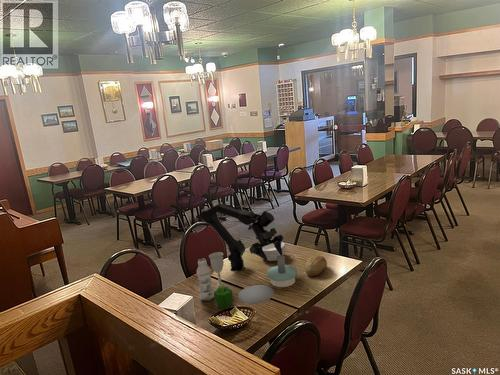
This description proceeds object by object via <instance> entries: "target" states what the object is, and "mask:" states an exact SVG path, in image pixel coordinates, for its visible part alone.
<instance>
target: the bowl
mask: <svg viewBox="0 0 500 375" xmlns="http://www.w3.org/2000/svg"><path fill="white" fill-rule="evenodd" d="M269 279H270V278H269ZM295 283H296V276H295V277H294V278H292V279H290V280H286V281H275V280H272V279H270V284H272V286H274V287H277V288H287V287H290V286H291V287H292V285H293V284H295Z"/></svg>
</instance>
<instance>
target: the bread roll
mask: <svg viewBox="0 0 500 375" xmlns="http://www.w3.org/2000/svg"><path fill="white" fill-rule="evenodd" d="M327 262H328V261H327V260H326V258H325V257H324V256H321V255H313V256H311V257H309V258H308V259H307V261H306V263H305V266H304V270H305V274H307V276H309V277H315V276H318V275H319V274H321V273H323V271H324V270H325V269H326V267H327V266H328V263H327Z"/></svg>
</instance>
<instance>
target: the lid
mask: <svg viewBox="0 0 500 375" xmlns="http://www.w3.org/2000/svg"><path fill="white" fill-rule="evenodd" d="M276 261H277V262H276V263H277V265H275V266H272V267H270V268H269V269H268V270H267V271H266V276H267V278H269V279H272V280H275V281H286V280H290V279H292V278H294V277H295V278H296V277H297V276H298V269H297V268H296V267H295V266H293V265H288V264H286V263H285V262H286V261H285V256H284V255H279V256H277V260H276Z"/></svg>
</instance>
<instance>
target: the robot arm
mask: <svg viewBox="0 0 500 375" xmlns="http://www.w3.org/2000/svg"><path fill="white" fill-rule="evenodd" d="M217 213H220V214H223V215H225V216H228V217H232V218H234V219H236V220H238V221H239V222H240V223H242V224H243V225H245V226H248V231H253V233H254V235H255V240H257V241H258V242H254V243H252V244H251V246H250V247H249V252H250V254H253V255H257V256H258V257H260V258H261V259H263V260H264V261H265V262H269V261H268V259H267V257H266V255H265V254H264V252H263V249H262V247H264V246H267V245H269V244H272V243H273V244H274V245H275V246H274V247H275V248H276V249H277V251H278V252H279V254H280V255H283V254H282V249H281V242H283V241H284V236H283V235H282V234H278V233H277V229H276V228H275V227H273V228H270V229H269V230H270V231H268V229H265V228H267V227H268V226H270V225H271V224H272V223H273V222H274V221H275V217H274V215H273V214H272V213H270V212H267V211H266V210H264V211H263V212H261V214H257V213H255V212H254V211H251V210H241V209H236V208H234V207H231V206H228V205H226V204H223V203H221V202H218V203H217V204H215V205H214V206H213V207H208V208H206V209H204V210H203V211H201V212H200V218H201V220H202V221H203V222H205V223H206V224H208V225H210V226H211V227H212V228H213V229H214V230H215V232H217V234H218V235H219V236H220V238H221V239H222V241H224V242H225V244H226V245H227V248H228V251H229V255H228V256H227V259H228V261H230V267H231V268H230V271H242V270H243V269H244V267H245V261H244V259H243V256H244V253H245V252H246V247H245V244H244V243H243V241H242V240H241V239H238V240H237V239H235V238H234V237H233V236H232V234H231V233H230V231H228V230H227V229H226V227H225V226H224V225H223V224H222V222H221V221H220V220H219V218H218V214H217ZM276 234H278V235H276ZM283 256H284V255H283Z"/></svg>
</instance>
